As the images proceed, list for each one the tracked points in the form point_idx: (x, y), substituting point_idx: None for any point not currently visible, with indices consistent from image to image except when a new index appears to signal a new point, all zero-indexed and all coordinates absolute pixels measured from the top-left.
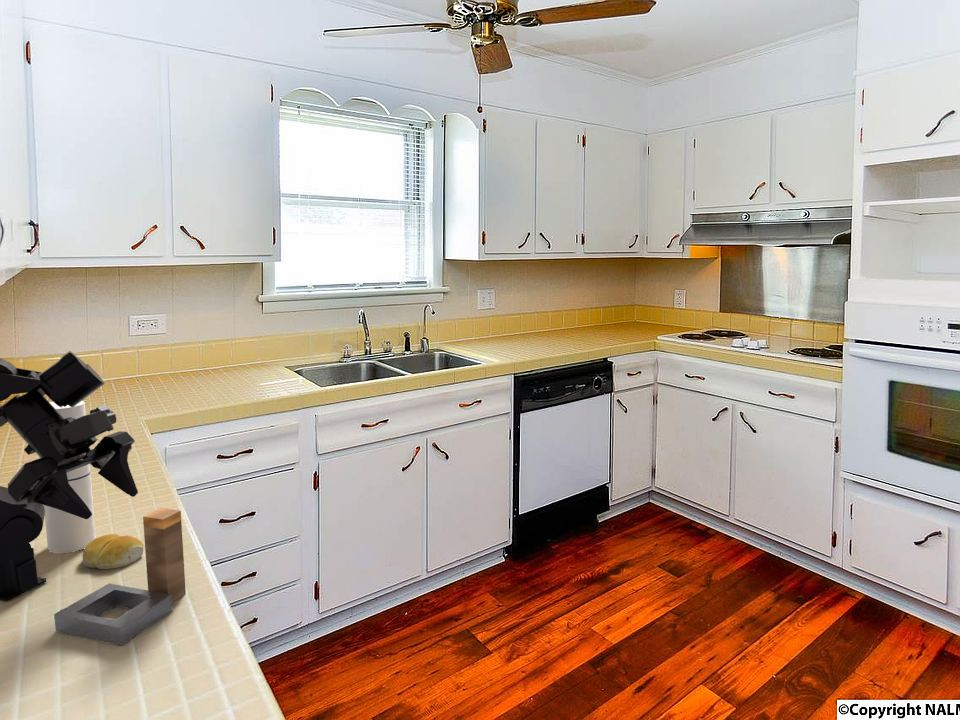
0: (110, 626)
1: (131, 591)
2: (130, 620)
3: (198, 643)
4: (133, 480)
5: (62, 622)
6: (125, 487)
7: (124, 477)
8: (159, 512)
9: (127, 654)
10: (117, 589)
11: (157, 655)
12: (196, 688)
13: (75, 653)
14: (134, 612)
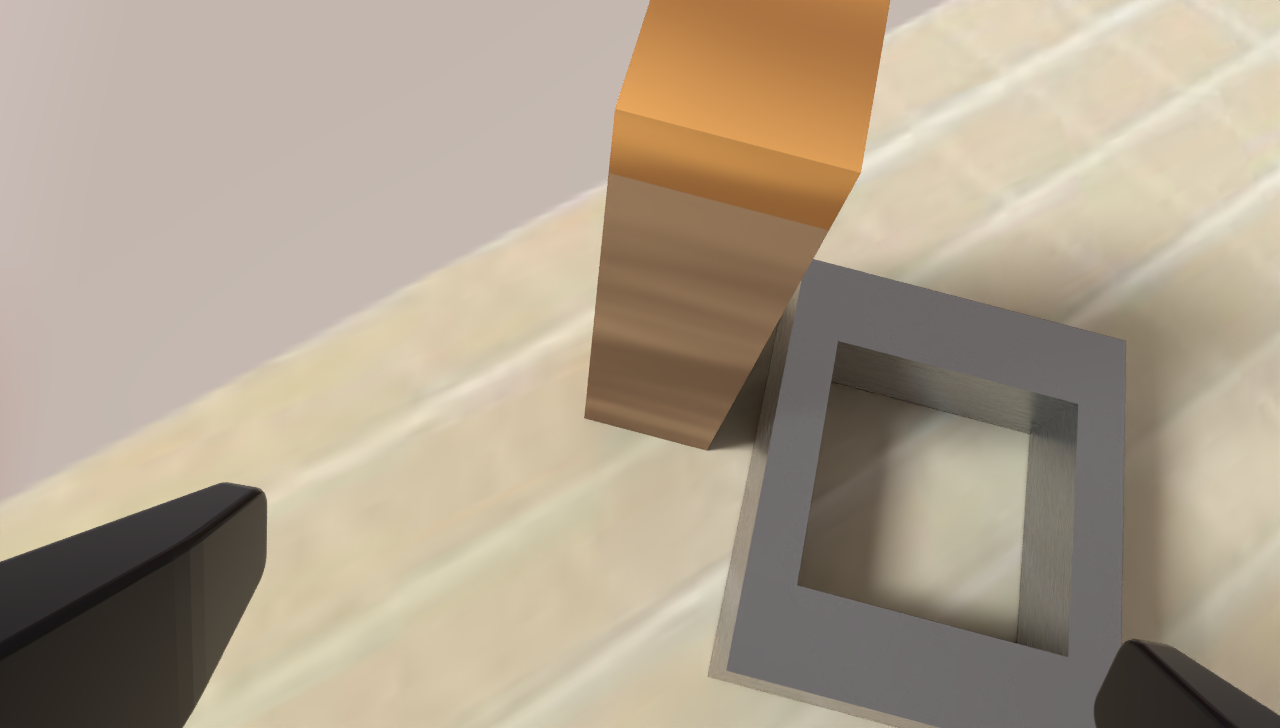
0: (1123, 395)
1: (802, 473)
2: (1061, 329)
3: (986, 115)
4: (43, 551)
5: None
6: (160, 686)
7: (22, 704)
8: (741, 74)
9: (1116, 324)
10: (793, 567)
11: (1090, 217)
12: (1203, 40)
13: (1174, 540)
14: (994, 347)
